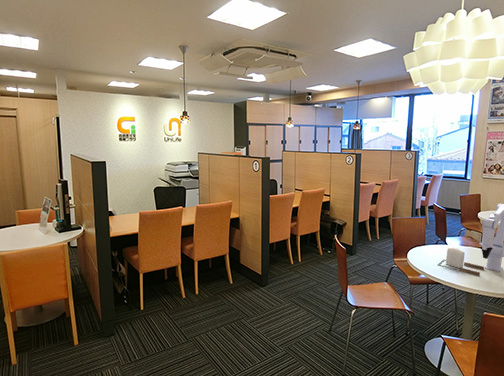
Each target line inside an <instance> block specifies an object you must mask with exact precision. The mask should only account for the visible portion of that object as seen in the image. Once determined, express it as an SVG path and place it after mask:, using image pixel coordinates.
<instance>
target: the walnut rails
mask: <svg viewBox="0 0 504 376" xmlns="http://www.w3.org/2000/svg"><path fill="white" fill-rule="evenodd" d="M463 266H465V267H469V268H473V269H477V270H482V271H485V266H482V265H478V264H475V263H470V262H466V261H464V263H463ZM465 267H463V268H461V267H459V268H458V271H459V272H462V273H466V274H470V275H474V276H478V277H479V276H481V275H480V274H481V272H480V271H475V270H472V269H468V268H465Z"/></svg>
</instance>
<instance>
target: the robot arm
mask: <svg viewBox="0 0 504 376" xmlns="http://www.w3.org/2000/svg"><path fill="white" fill-rule="evenodd" d="M481 225H482V236H481V242H479V245H481V246H480V250H481V252H482V253H481V254H482V258H483V259H485V260H487V262H486V266H484V269H486V270H491V271H496V272H499V273H500V272H501V271H502V270H503V267H502V260H503V258H504V203H498V204H497V205H496V208H495V212H492V213H491V214H490V215H489V216H488V217H486V218H483V219H482V223H481ZM496 229H497V230H496ZM495 232H496V233H495Z"/></svg>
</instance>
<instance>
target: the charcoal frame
mask: <svg viewBox="0 0 504 376" xmlns="http://www.w3.org/2000/svg"><path fill="white" fill-rule="evenodd" d="M444 262H446V259H442V260H441V261H440V262H439V263H438V264H437V266H439V267H442V268H446V269H447V268H448V269H450V270H455V271H458V268H453V267H448V266H445V265H441V264H442V263H444Z"/></svg>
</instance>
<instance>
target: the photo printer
mask: <svg viewBox="0 0 504 376" xmlns="http://www.w3.org/2000/svg"><path fill="white" fill-rule="evenodd" d="M446 251H447V252H446V258H445V260H446V261H445V264H446V265H449V266H450V267H455V268H456V269H459V267H461V268H464V262H465V252H464V251H463V250H461V249H459V248H455V247H447V250H446Z"/></svg>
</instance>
